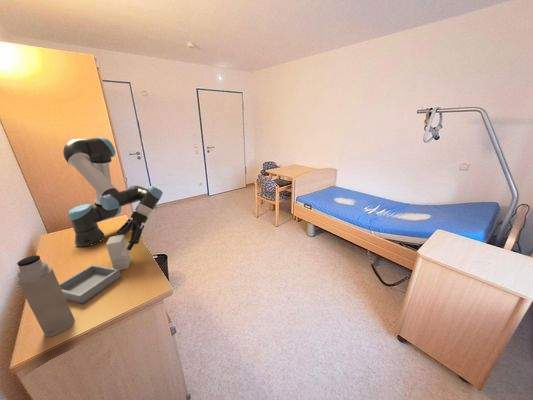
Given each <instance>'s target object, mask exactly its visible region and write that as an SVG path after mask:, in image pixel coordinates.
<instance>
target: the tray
mask: <svg viewBox="0 0 533 400" xmlns="http://www.w3.org/2000/svg"><path fill="white" fill-rule="evenodd" d="M121 278H122V274H121V270H119V269H114V268H113V267H108V266H107V267H106V266H101V265H96V264H91V265H90V266H88V267H86V268H84V269H83V270H82V271H80V272H78V273H76V274H75V275H73V276H70V277H68V279H66V280H64V281H62V282H61V283H59V285H60V287H61V290H62V292H63V294H64V296H65V299H66V301H67V302H68V301H69V302H72V303H75V304H79V305H82V306H83V305H86V303H88V302H90V301H91V300H92V299H94V298H95V297H96V296H98V295H99V294H100V293H102V292H103V291H104V290H106V289H107V288H109V287H110V286H111V285H113V284H114V283H116V282H117V281H118V280H120V279H121Z"/></svg>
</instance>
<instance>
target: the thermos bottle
mask: <svg viewBox="0 0 533 400" xmlns="http://www.w3.org/2000/svg"><path fill="white" fill-rule="evenodd" d="M42 261H43V260H41V257H40V255H32V256H31V255H30V256H27V257H25V258H23V259H20V260H18V262H17V263H16V264H17V266H18V269H19V271H18V272H17V280H16V281H17V284H18V285H19V288H20V290H21V292H22V294H23V295H24V297H25V299H26V301H27V304H28V305H29V307H30V309H31V311H32V312H33V315H34V317H35V319H36V320H37V323H38V325H39V326H40V328H41V331H42V332H43V335H44V336H45V337H54V336H57V335H60V334H62V333H64V332H65V331H66V330H68V329H69V328H70V327H71V326H72V325H73V324H74V322H75V317H74V314H73V312H72V311H71V308H70V306H69V303H68V300H66V299H65V296H64V294H63V292H62V290H61V287H60V285H59V284H60V283H59V281H58V278H57V276H56V274H55V272H54V269H53V267H51V266H49V265H48V263H47V262H44V261H43V262H42Z"/></svg>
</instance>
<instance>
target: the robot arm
mask: <svg viewBox="0 0 533 400" xmlns="http://www.w3.org/2000/svg"><path fill="white" fill-rule="evenodd" d="M62 151H63V157H64V160H65V161H66V163H67V164H68V165H69V166H70V167H73V168H75V169H76V171H78V173H80V175H81V176H82V177H83V178H84V179H85V180H86V181H87V182H88V183H89V185H90V186H91V187H92V188H93V189H94V191H95V195H96V196H95V199H94V200H93V202H94V204H90V203H85V204H84V203H83V204H81V205H78V206H74V207H73V208H71V209H70V210H69V211H68V214H67V215H68V219H69V221H70V224H71V226H72V229H73V231H74V234H75V235H74V244H75V247H77V246H79V247H78V248H83V247H82V246H86V247H89V246H88V245H91V244H94V243H96V244H98V243H97V242H99V241H100V240H102V239H103V238H104V237H105V238H106V236H105V233H104V232H103V231H102V229H100V227H99V225H98V223H100V222H103V221H106V220H110V219H113V218H114V217H117V216H119V215H120V214H121V212H122V207H124V206H126V205H131V204H133V203H137V202H139V203H138V204H137V206H136V207H135V209H134V211H133V212H132V214H131V215H130V218H131V219H130V218H128V219H127V220H126V221H125V223H124V224H123V225H121V226H120V228H119V229H118V230H117V231H116V236H118V235H123V234H124V236H125V235H126V234H127V233H129V232H130V231H131V234H130V239H129V241H128V242H127V243H126V244H127V245H126V247H125V249H124V250H123V252H122V253H121V255H122V256H125V257H127V255H128V254H129V255H130V252H131V250H132V249H133V247H134V246H135V245H138V244H139V243H140V241H141V236H142V233H143V230H144V228H145V225H144V224H145V223H146V222H147V221H148V219H149V217H150V216H151V214H153V211H154V209H155V207H156V206H157V204H158V203H159V201H160V200H161V198H162V196H163V193H164V192H163V190H161V189H159V188H158V187H155V186H153V185H152V186H151V185H150V186H149V187H148V188H146V187H143V186H140V185H135V184H134V185H130V186H129V187H128V188H127V189H125V190H120V191H119V189H117V188H116V187H115V185H113V184H112V177H111V169H110V163H112V158H113V157H115V155H116V150H115V147H114V145H113V143H112V142H111V141H110V139H108V138H106V137H88V138H74V139H71V140H69V141H68V142H66V144H65V145H64V147H63V150H62ZM102 241H103V240H102ZM99 243H100V242H99ZM94 245H95V244H94ZM91 246H92V245H91Z"/></svg>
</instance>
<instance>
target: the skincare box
mask: <svg viewBox="0 0 533 400" xmlns="http://www.w3.org/2000/svg"><path fill="white" fill-rule="evenodd" d="M127 244H128V243H127V241H126V238H125V235H124V234H123V235H118V236H117V235H113V236H110V237H109V238H108V240H107V241H106V244H105V246H106V249H107V251H108V256H109V258H110V262H111V264H112V268H114V269H119V271H121V270H122V271H123V270H127V269H129V268H130V266H131V262H132V261H131V260H132V259H131V255H130V253H129V254H128V255H127V257H125V256H122V255H121V253H122V252H123V250H124V249H125V247H126V245H127Z"/></svg>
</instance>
